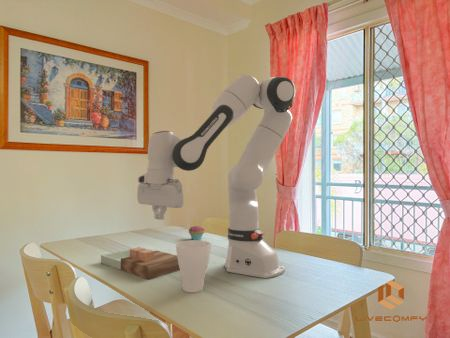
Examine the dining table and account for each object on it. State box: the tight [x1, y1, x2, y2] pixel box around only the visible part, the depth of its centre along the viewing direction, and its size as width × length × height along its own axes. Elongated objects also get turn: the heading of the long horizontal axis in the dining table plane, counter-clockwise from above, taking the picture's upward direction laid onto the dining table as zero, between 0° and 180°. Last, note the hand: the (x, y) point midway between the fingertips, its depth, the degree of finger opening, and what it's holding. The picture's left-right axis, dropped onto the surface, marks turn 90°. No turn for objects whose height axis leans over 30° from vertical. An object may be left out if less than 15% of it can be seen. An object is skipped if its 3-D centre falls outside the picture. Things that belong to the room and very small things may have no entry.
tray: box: [100, 248, 131, 271], centre depth 123 cm, size 13×16×3 cm
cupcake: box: [188, 217, 206, 241], centre depth 167 cm, size 9×8×12 cm
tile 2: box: [138, 248, 156, 262], centre depth 112 cm, size 4×4×3 cm
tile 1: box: [129, 246, 147, 259], centre depth 115 cm, size 4×4×3 cm
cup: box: [175, 239, 212, 294], centre depth 95 cm, size 10×10×14 cm
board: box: [120, 250, 180, 280], centre depth 114 cm, size 16×16×4 cm
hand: (159, 219), depth 108 cm, fingers closed
